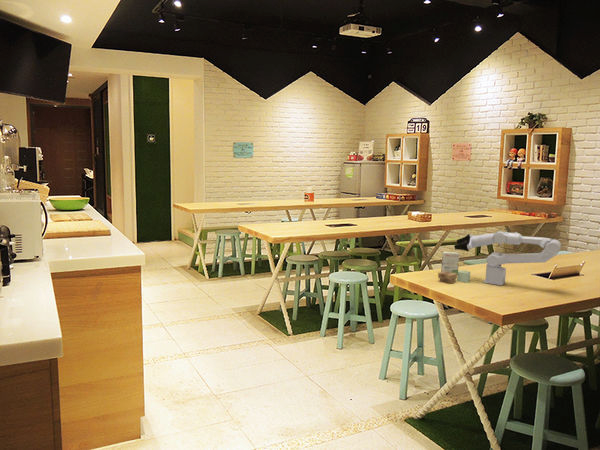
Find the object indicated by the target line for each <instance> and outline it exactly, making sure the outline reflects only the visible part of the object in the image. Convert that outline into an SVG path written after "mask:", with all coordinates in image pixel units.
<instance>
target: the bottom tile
mask: <svg viewBox="0 0 600 450" xmlns="http://www.w3.org/2000/svg"><path fill="white" fill-rule="evenodd" d="M438 279H439V281H438V282H439V283H446V284H451V285H452V284H454V283H456V281H457V278H456V279H453V280H446V279H441V278H438Z"/></svg>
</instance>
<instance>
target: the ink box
mask: <svg viewBox="0 0 600 450" xmlns="http://www.w3.org/2000/svg"><path fill="white" fill-rule="evenodd" d="M459 264H460V253H459V252H453V251H451V252H450V251H442V256H441V266H440V267H441V269H440V273H441V272H444V271H447V272H452V273H457V275H458V271H459V266H460V265H459Z"/></svg>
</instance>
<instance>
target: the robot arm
mask: <svg viewBox="0 0 600 450" xmlns="http://www.w3.org/2000/svg"><path fill="white" fill-rule="evenodd" d="M503 243H504V244H507V245H516V246H517V245H521V244H522V243H523V244H529V245H530V244H531V245H538V246H539V247H540V248H542V251H541V252H532V253H531V252H529V253H527V252H526V253H500V252H497V251H493V252H491V254H490V255H488V256H487V257H486V269H485V279H484V280H483V281H482V283H485V284H488V285H489V284H491V285H496V286H503V285H504V284H506V274H507V268H506V267H503V266H502V265H507V264H536V263H537V264H539V263H540V264H541V263H546V262H548V261H550V260H551V259H553V258H554V257H556V256H557V255H558V253H559V252H561V251H560V250H561V248H562V243H561V241H560V240H558V239H557V238H556V239H555V238H549V237H541V236H525V235H524V236H523V235H522V234H521V233H518V231H515V232H507V231H500V230H498V231H496V232H494V233H493V232H492V233H485V234H484V233H483V234H480V235H479V234H478V235H476V234H474V235H473V234H469V233H468V234H467V235H464V236H463V237H461V238H458V239H457V240H456V244H455V245H453V247H454V250H458V251H459V250H461V251H466V252H469V251H470V250H472V248H473V249H475V248H476V247H483V246H489V245H492V244H498V245H501V244H503Z"/></svg>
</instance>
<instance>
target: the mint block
mask: <svg viewBox="0 0 600 450" xmlns="http://www.w3.org/2000/svg"><path fill="white" fill-rule="evenodd" d="M470 280H471V271H467V270H461V269H460V270H458V275H457V278H456V281H457V282H461V283H465V284H466V283H469V282H470Z"/></svg>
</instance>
